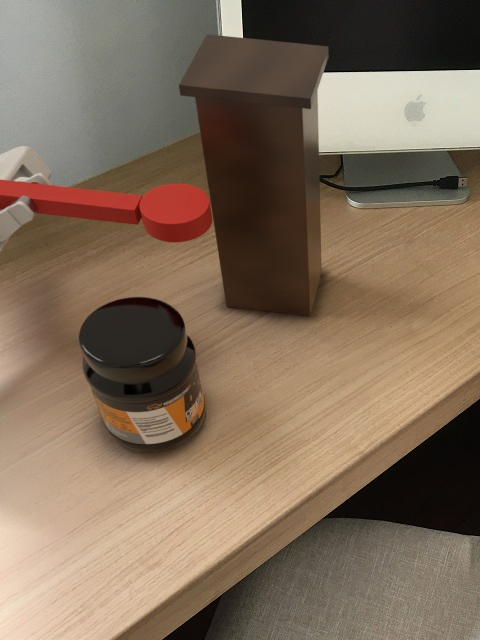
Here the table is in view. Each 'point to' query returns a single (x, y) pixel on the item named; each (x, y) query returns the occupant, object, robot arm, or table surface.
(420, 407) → the table surface
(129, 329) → the supplement container
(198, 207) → the red serving spoon
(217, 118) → the walnut stand
